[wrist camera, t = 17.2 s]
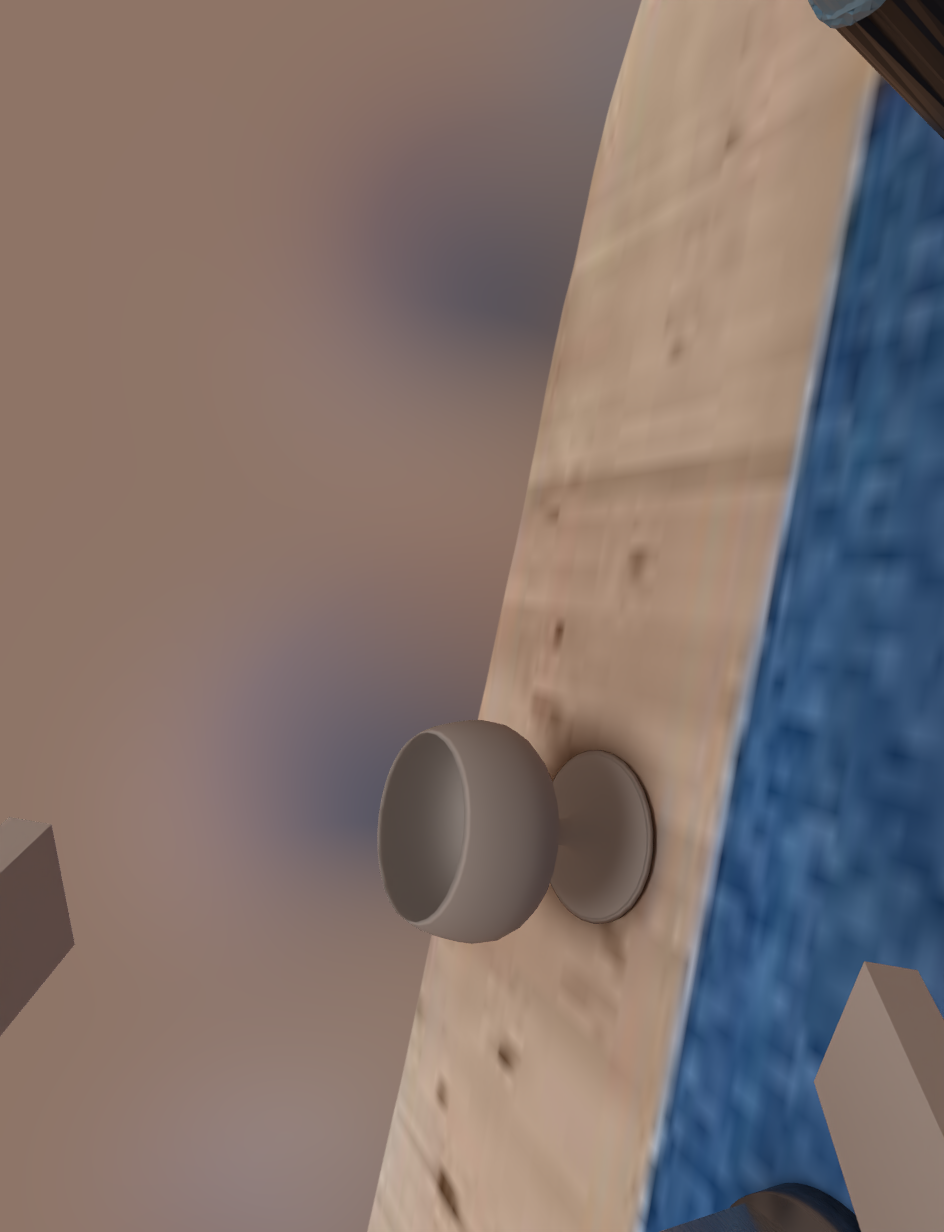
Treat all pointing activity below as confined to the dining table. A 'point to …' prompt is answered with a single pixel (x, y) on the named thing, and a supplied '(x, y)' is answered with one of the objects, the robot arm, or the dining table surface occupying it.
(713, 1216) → the tall taupe upright block
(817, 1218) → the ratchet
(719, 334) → the dining table surface
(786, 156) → the dining table surface
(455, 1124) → the dining table surface
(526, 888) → the chalice
